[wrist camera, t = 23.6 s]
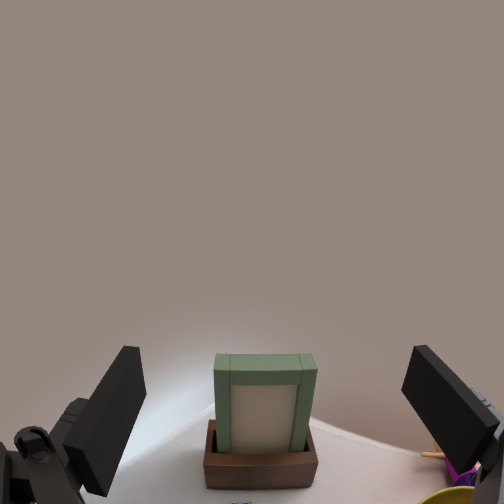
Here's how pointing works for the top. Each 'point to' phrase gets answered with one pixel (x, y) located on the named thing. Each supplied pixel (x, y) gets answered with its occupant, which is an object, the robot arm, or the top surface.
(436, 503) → the flower pot
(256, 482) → the holder
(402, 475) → the top surface
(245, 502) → the smartphone
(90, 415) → the robot arm
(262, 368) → the frame
